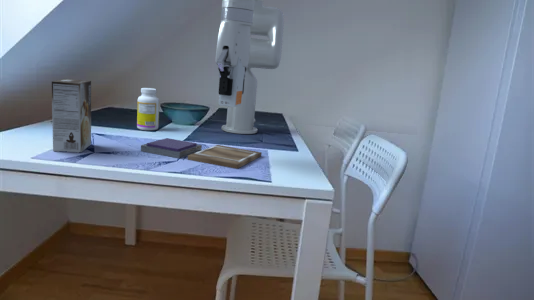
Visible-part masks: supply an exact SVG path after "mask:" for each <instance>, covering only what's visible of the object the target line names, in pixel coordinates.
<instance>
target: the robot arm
mask: <svg viewBox="0 0 534 300" xmlns="http://www.w3.org/2000/svg"><path fill="white" fill-rule="evenodd" d="M284 16H285V15H284V12H283V10H281V9H280V8H278V7H276V6H275V7H274V6H265V5H264V0H222V1H221V13H220V25H219V31H218V34H217V41H216V42H217V43H216V50H215V51H216V52H215V64H216V65H217V69H218V78H219V79H218V80H219V83H218V96H219V95H227V96H231V95H232V84H233V79H231V77H232V73H233V69H234V67H236V66H237V62H238V57H240V58H241V62H242V66H243V67H245V68H244V79H243V90H242V101H241V106H236V107H228V106H227V111H226V124H223V125H222V126H221V130H222V131H224V132H227V133H232V134H240V135H241V134H242V135H252V134H256V133H258V129H259V128H257V127H255V123H256V118H255V115H256V114H255V113H256V100H257V92H258V91H257V89H258V79H257V77H256V75H255V74H254V72H253V71H252V69H261V70H262V69H264V70H276V69H278V68H279V66H280V64H281V60H282V51H283V50H282V49H283V42H284V41H283V37H284V26H285V17H284ZM252 35H253V36H261V37H267V38H268V39H261V38H254V37H253V38H252V37H251V36H252ZM225 62H227V63H230V64H231V65H229V64H225ZM228 69H229V72H228Z"/></svg>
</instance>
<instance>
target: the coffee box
mask: <svg viewBox="0 0 534 300" xmlns="http://www.w3.org/2000/svg"><path fill="white" fill-rule="evenodd" d="M51 113H52V114H51V118H52V122H51V124H52V151H53V152H59V151H67V152H66V153H79V152H81V153H82V152H83V151H85V150H86V149H87V148H88V147H90V145H92V80H82V79H73V78H72V79H71V78H63V79H59V80H58V79H57V80H53V81H51Z"/></svg>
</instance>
